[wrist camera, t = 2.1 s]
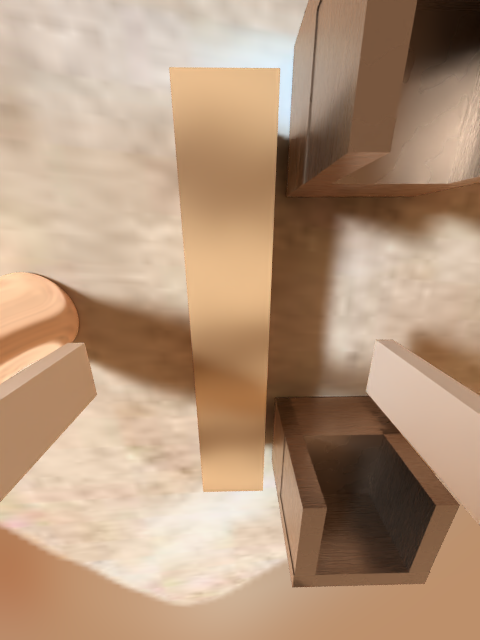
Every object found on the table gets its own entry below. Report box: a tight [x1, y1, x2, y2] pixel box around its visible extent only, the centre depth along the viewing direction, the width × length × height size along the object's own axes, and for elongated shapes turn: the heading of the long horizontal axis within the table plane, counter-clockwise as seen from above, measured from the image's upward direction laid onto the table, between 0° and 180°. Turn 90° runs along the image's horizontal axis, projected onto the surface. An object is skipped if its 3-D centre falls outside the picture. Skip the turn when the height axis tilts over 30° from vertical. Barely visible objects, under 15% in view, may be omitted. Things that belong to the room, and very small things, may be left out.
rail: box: [169, 67, 280, 492], centre depth 15 cm, size 22×4×6 cm, turn 0°
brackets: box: [272, 0, 480, 587], centre depth 13 cm, size 29×8×8 cm, turn 0°
